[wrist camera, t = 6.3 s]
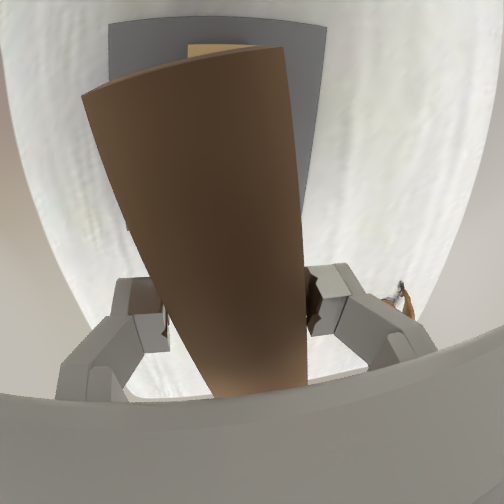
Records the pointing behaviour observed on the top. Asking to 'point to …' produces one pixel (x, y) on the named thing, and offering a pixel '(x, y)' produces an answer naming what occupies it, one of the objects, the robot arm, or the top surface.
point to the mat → (231, 32)
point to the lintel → (214, 208)
